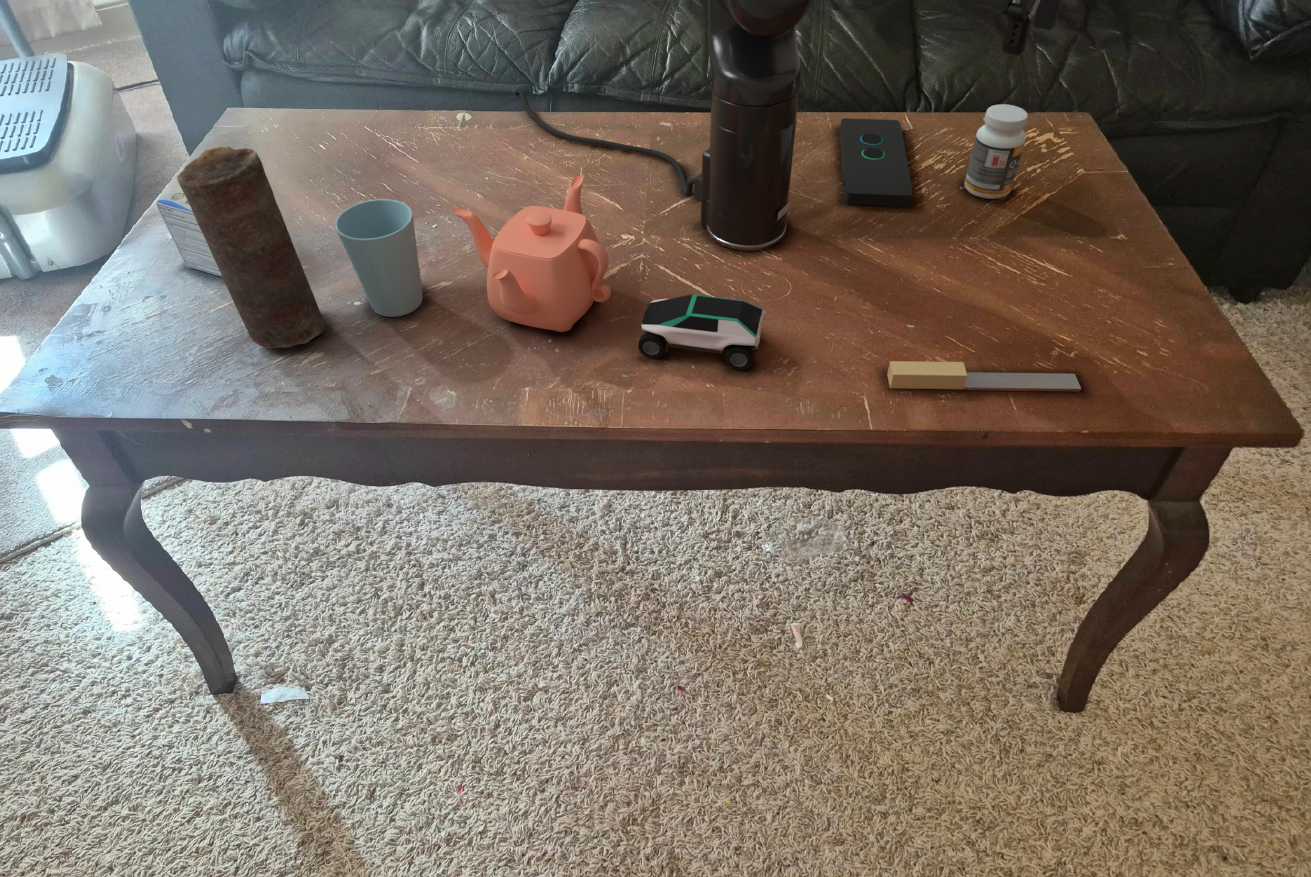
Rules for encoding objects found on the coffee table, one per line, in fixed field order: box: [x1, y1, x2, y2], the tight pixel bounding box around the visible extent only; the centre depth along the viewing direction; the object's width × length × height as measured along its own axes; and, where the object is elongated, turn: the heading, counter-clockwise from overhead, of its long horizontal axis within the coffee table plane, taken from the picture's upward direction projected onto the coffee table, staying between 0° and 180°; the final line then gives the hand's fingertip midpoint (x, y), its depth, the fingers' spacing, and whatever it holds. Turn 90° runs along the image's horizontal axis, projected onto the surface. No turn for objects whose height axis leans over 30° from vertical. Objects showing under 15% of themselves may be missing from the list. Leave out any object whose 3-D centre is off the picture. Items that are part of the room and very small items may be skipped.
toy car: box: [637, 293, 766, 371], centre depth 88 cm, size 6×12×5 cm, turn 77°
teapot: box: [451, 175, 612, 333], centre depth 91 cm, size 14×14×11 cm
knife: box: [886, 360, 1082, 393], centre depth 84 cm, size 18×2×2 cm, turn 88°
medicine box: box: [155, 185, 223, 278], centre depth 98 cm, size 8×4×9 cm, turn 65°
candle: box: [176, 146, 326, 349], centre depth 85 cm, size 8×7×20 cm
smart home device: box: [839, 117, 913, 208], centre depth 114 cm, size 8×2×20 cm
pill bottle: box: [964, 103, 1029, 200], centre depth 107 cm, size 6×6×10 cm
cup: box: [334, 198, 423, 318], centre depth 92 cm, size 8×8×10 cm
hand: (1027, 40), depth 97 cm, fingers open, 8 cm apart
